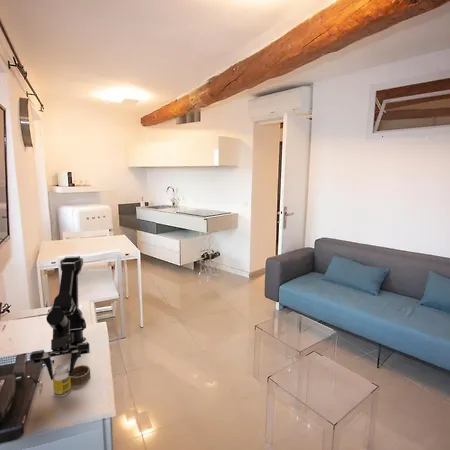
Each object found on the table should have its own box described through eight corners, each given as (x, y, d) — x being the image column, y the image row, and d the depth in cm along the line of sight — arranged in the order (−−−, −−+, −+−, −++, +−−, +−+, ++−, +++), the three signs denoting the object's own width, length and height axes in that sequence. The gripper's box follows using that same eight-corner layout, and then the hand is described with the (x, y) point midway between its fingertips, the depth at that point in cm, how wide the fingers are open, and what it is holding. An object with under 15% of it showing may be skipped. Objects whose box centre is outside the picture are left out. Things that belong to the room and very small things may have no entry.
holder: (78, 370, 123) (77, 363, 123) (94, 374, 122) (93, 367, 121) (64, 382, 117) (64, 375, 116) (81, 386, 115) (80, 379, 114)
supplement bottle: (64, 398, 109) (62, 373, 107) (50, 396, 110) (48, 371, 108) (74, 388, 114) (72, 363, 112) (61, 385, 115) (59, 361, 113)
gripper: (28, 331, 107) (25, 380, 100) (87, 321, 115) (89, 366, 107) (34, 340, 116) (31, 386, 108) (88, 331, 123) (90, 373, 115)
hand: (61, 377), depth 109 cm, fingers closed on supplement bottle, 5 cm apart
